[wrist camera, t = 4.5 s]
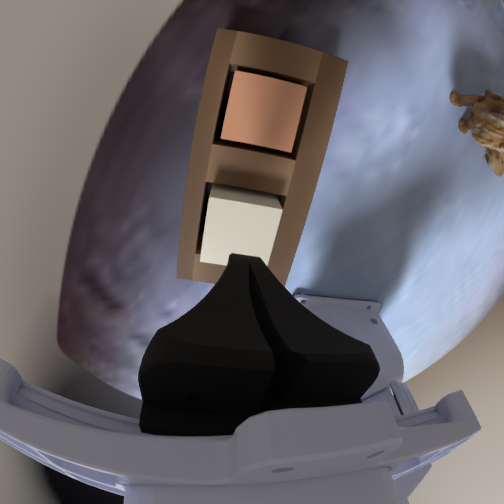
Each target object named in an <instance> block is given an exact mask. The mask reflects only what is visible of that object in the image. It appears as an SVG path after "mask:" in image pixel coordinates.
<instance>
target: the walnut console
mask: <svg viewBox="0 0 504 504" xmlns="http://www.w3.org/2000/svg"><path fill="white" fill-rule="evenodd" d="M347 64H348V61H346V60H344V59H341V58H338V57H336V56H333V55H330V54H327V53H324V52H321V51H318V50H315V49H312V48H309V47H306V46H302V45H299V44H295V43H292V42H288V41H284V40H280V39H276V38H271V37H267V36H262V35H257V34H252V33H247V32H241V31H234V30H227V29H220V28H218V29H217V33H216V37H215V40H214V44H213V48H212V52H211V56H210V60H209V64H208V68H207V72H206V77H205V81H204V86H203V90H202V95H201V100H200V105H199V109H198V115H197V120H196V125H195V131H194V136H193V142H192V148H191V154H190V161H189V167H188V174H187V181H186V188H185V196H184V204H183V212H182V221H181V231H180V241H179V252H178V264H177V278H181V279H187V280H194V281H200V282H207V283H214V284H216V283H217V281H218V280H219V278H220V277H221V275H222V273H223V272H224V270H225V268H226V265H219V264H212V263H206V262H200V256H201V248H202V241H203V234H200V230H201V223H202V216H203V209H204V203H205V197H206V190H207V184H208V182H212V183H218V184H225V185H230V186H236V187H242V188H248V189H253V190H258V191H264V192H269V193H274V194H276V197H277V199H278V201H279V203H280V205H281V207H282V209H283V211H282V215H281V218H280V222H279V226H278V229H277V233H276V237H275V240H274V244H273V248H272V251H271V255H270V259H269V262H268V266H267V267H268V268H269V269H270V271H271V272H272V273H273V274H274V276H275V277H276V278H277V279H278V280H279V282H280V283H281V284H282V285H283V286H284V287H285V284H286V281H287V278H288V275H289V272H290V269H291V266H292V263H293V260H294V257H295V253H296V250H297V247H298V244H299V241H300V238H301V235H302V231H303V228H304V225H305V222H306V218H307V215H308V212H309V208H310V205H311V202H312V198H313V195H314V192H315V188H316V185H317V181H318V178H319V174H320V171H321V167H322V164H323V160H324V156H325V153H326V149H327V145H328V142H329V138H330V134H331V130H332V126H333V122H334V118H335V114H336V110H337V106H338V102H339V98H340V94H341V90H342V86H343V81H344V77H345V73H346V68H347ZM230 71H231V72H235V71H241V72H247V73H252V74H257V75H261V76H266V77H271V78H275V79H279V80H283V81H287V82H291V83H295V84H298V85H302V86H305V87H307V91H306V95H305V99H304V103H303V107H302V111H301V115H300V119H299V123H298V127H297V132H296V136H295V140H294V144H293V148H292V152H291V153H290V152H286V153H284V152H279V151H275V150H270V149H266V148H261V147H256V146H251V145H246V144H240V143H235V142H229V141H223V140H217V139H216V134H217V129H218V124H219V119H220V114H221V110H222V105H223V100H224V96H225V91H226V87H227V82H228V78H229V74H230Z"/></svg>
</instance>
